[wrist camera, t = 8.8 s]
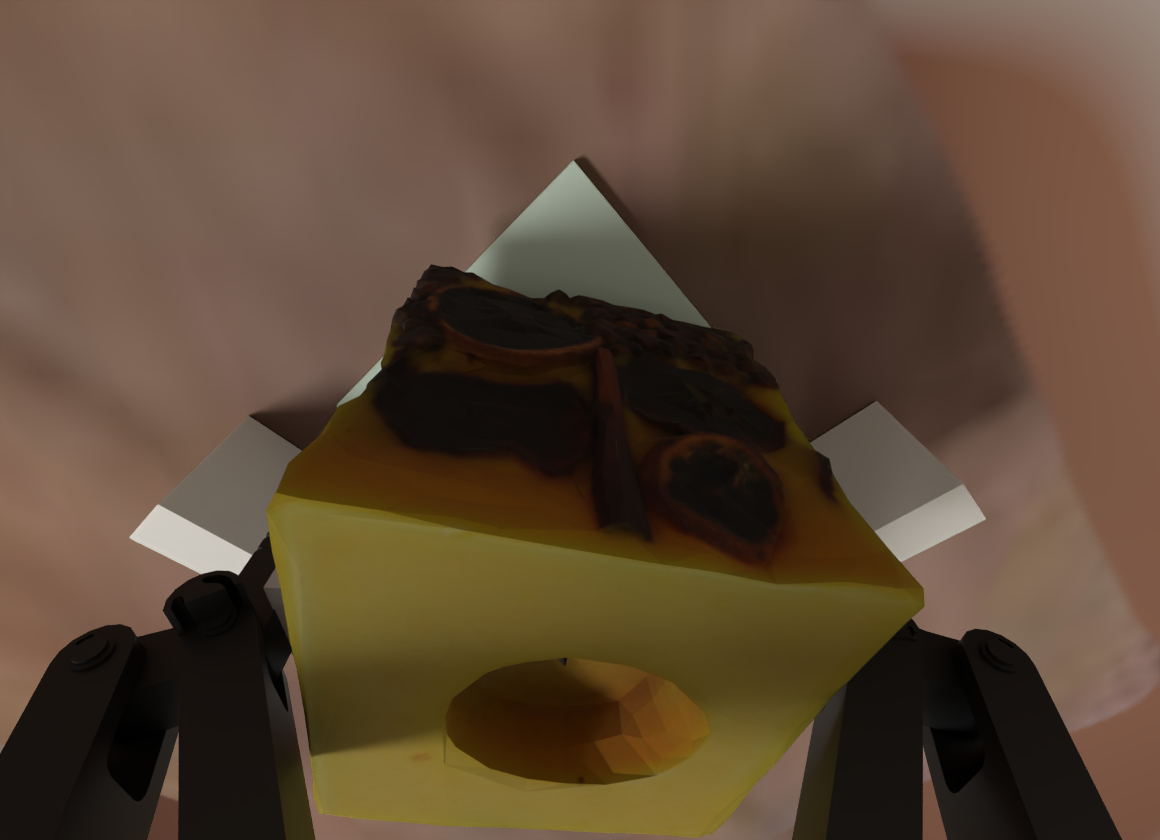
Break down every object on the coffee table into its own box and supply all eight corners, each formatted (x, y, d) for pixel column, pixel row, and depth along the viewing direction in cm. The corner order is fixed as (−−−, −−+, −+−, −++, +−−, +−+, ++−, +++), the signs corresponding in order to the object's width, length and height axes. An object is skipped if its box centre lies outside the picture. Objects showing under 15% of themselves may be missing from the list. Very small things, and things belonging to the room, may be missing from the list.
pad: (339, 401, 19) (336, 405, 19) (573, 160, 15) (573, 160, 14) (559, 561, 24) (559, 566, 23) (782, 413, 20) (785, 417, 19)
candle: (426, 256, 14) (232, 474, 6) (751, 327, 16) (965, 584, 7) (409, 514, 20) (292, 823, 11) (654, 550, 21) (714, 848, 13)
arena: (222, 445, 20) (128, 537, 16) (606, 6, 13) (625, -42, 9) (543, 643, 27) (539, 743, 23) (898, 432, 20) (986, 519, 16)
